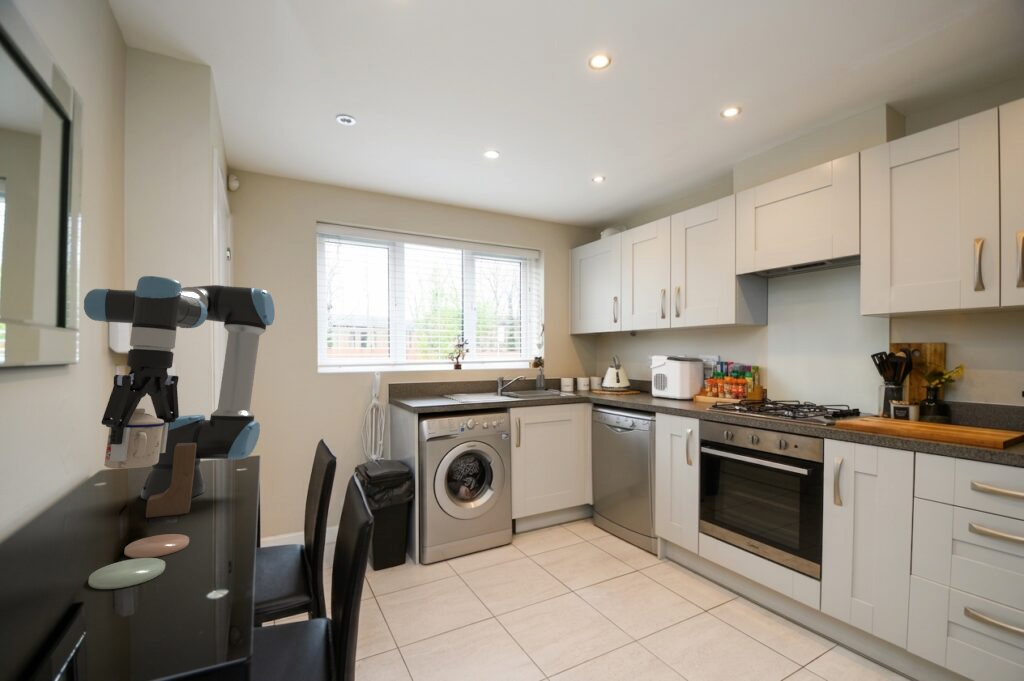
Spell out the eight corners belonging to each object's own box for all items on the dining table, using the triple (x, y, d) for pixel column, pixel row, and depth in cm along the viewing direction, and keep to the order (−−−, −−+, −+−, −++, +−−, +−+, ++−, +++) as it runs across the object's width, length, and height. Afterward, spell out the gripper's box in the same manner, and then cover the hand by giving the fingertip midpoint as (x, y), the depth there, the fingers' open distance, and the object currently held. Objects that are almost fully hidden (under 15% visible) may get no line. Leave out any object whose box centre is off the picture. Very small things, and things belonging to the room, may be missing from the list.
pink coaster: (153, 536, 102) (153, 532, 102) (200, 539, 102) (201, 535, 102) (109, 556, 91) (110, 552, 91) (162, 559, 91) (163, 555, 91)
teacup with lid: (99, 463, 92) (107, 407, 93) (154, 459, 99) (161, 406, 100) (108, 473, 84) (117, 411, 85) (167, 468, 91) (174, 411, 92)
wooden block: (145, 518, 112) (152, 446, 113) (147, 513, 116) (155, 443, 117) (188, 514, 117) (195, 445, 118) (190, 509, 121) (197, 442, 122)
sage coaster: (124, 560, 89) (125, 556, 89) (178, 563, 89) (179, 559, 89) (70, 587, 78) (71, 582, 78) (132, 590, 78) (132, 586, 78)
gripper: (174, 351, 105) (163, 447, 103) (85, 344, 84) (68, 465, 82) (205, 353, 105) (194, 449, 103) (123, 346, 84) (108, 467, 82)
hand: (138, 456), depth 93 cm, fingers closed on teacup with lid, 9 cm apart
